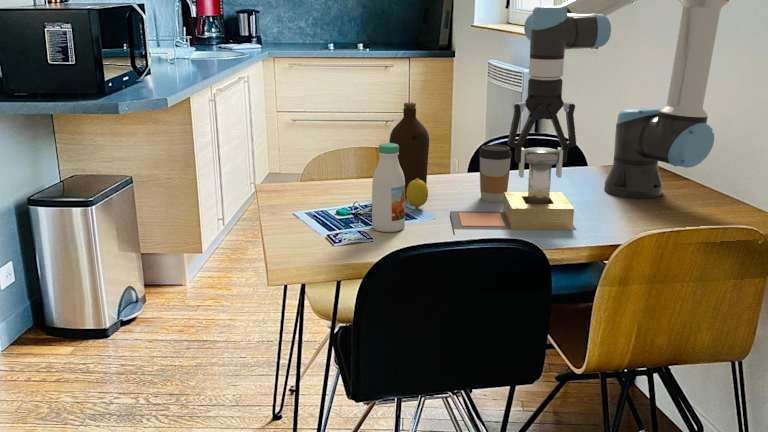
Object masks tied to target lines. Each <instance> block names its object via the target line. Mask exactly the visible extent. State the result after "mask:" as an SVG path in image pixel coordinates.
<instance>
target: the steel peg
mask: <svg viewBox="0 0 768 432" xmlns="http://www.w3.org/2000/svg"><path fill="white" fill-rule="evenodd" d="M524 149H525V160H524V164H529V166H528V167H529V168H528V169H529V170H528V185H527V186H528V187H527V192H528V202H527V204H549V197H550V192H551V178H552V166H554V165H556V164H557V163H558V160H559V151H558V150H557V149H556V148H550V147H540V146H539V147H538V146H537V147H528V148H524Z"/></svg>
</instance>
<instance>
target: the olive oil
mask: <svg viewBox="0 0 768 432" xmlns="http://www.w3.org/2000/svg"><path fill="white" fill-rule="evenodd" d="M416 105H417V104H416V102H412V101H411V102H403V109H402V110H403V114H402V115H403V116H402V118H401V120H400V121H399V122H398V123H397V124H396V125H395V126H394V127H393V128H392V130H391V131H390V132H391V133H390V135H389V143H394V144H397V145H398V146H399V152H398V153H399V154H398V161H399V164H400V167H401V169H402V171H403V174H404V178H405V200H407V196H406V191H407V187H408V185H409V183H410V182H411V181H413V180H415V179H416V178H419V180H422V181H423V182H424V183H425V184H426V186H427V187H428V185H427V181H428V179H427V178H428V166H429V165H428V164H429V154H430V153H429V151H430V136H429V135H430V134H429V132H428V130H427V128H426V127H425V126H424V125H423V124H422V122H421V121H420V120H419V119H418V118H417V107H416Z"/></svg>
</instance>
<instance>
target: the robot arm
mask: <svg viewBox="0 0 768 432" xmlns="http://www.w3.org/2000/svg"><path fill="white" fill-rule="evenodd" d="M636 1H638V0H568V1H566V2H564V3H562V4H559V5H539V6H536V7H534V8H533V10H532V13H530V14H529V15H528V16H527V18H526V20H525V22H524V26H523V28H524V30H523V31H524V35H525V37H526V38H527V40H528V41H529V43H530V44H529V45H530V46H529V63H528V64H529V66H528V76H530V77H529V79H528V82H527V97H526V99H525V100H524V101H523V102H516V101H515V102H513V104H512V109H513V116H512V121H511V125H510V129H509V134H508V139H507V144H508V147H510V148H511V147H512V148H514V150H515V151H514V160H515V163H516V164H518V176H519V178H522V179H523V178H524V175H525V173H524V172H525V162H524V160H525V149H526V148H524V147H523V146H524V145H525V142H526V141H527V138H528V136H529V134H530V132H531V130H532V128H533V126H534V124H535V123H536V121H537V120H543V119H544V120H550V121H551V123H552V126H553V128H554V131H555V135H556V136H557V139H558V141H559V145H560V146H561V147H557V149H556V150H558V151H559V160H558V163H557V164H555V165H556V166H555V176H556V177H557V179H558V178H561V179H562V172H563V164H565V163H567V161H568V150H570V148H572V147H573V148H574V147H576V146H577V139H576V138H577V137H576V128H575V127H576V126H575V119H574V117H575V116H574V113H575V110H576V105H575V104H574V103H573V102H572V101H571V102H564V100H563V99H562V95H563V83H564V82H563V79H562V78H561V77H563V76H564V64H565V62H564V61H565V51H566V50H573V49H574V50H576V49H578V50H579V49H581V50H582V49H591V50H592V49H596V48H601V47H604V46H605V45H606V44H607V43H608V42H609V41H610V38H611V32H612V24H611V21H610V19H609V18H608V17H607V16H609V15H611V14H613V13H615V12H617V11H619V10H620V9H621V10H622V9H623V8H625V7H627V6H629V5H631V4H633V3H635V2H636ZM678 2H679V3H680V4H681V6H682V13H681V18H680V21H679V22H680V24H679V29H678V35H677V41H676V47H675V54H674V58H673V64H672V70H671V78H670V82H669V88H668V89H669V90H668V95H667V101H666V103H665V105H664V106H663V107H642V108H641V107H640V108H639V107H637V108H627V109H623V110H620V111H619V113H618V114H617V119H616V120H617V122H616V124H615V137H614V148H613V149H614V151H613V152H614V153H613V162H612V165H611V167H610V170H609V171H608V174H607V176H606V179H605V181H604V188H603V189H604V192H606V193H608V194H610V195H613V196H618V197H621V198H628V199H630V198H631V199H653V198H658V197H660V196H661V195H662V193H663V192H662V191H663V184H662V183H663V182H662V179H661V174H660V170H659V162H662V163H665V164H667V165H668V164H669V165H670V166H673V167H680V168H687V169H688V168H689V169H691V168H694V167H696V166H698V165H700V164H702V162H703V161H704V160H706V159H707V158H708V156H709V155H710V152H711V151H712V150H713V148H714V147H713V146H714V143H715V133H714V132H713V128H712V127H711V126H710V124H707V121H708V117H709V114H708V113H707V112H706V110H705V109H704V103H705V97H706V92H707V86H708V81H709V76H710V69H711V64H712V59H713V53H714V47H715V42H716V36H717V32H718V27H719V21H720V13H721V9H722V8H723V7H725V6H726V5H727V4H728V3H729V2H730V0H678ZM525 108H527V111H528V112H529V115H528V116H527V119H526V121H525V123H524V125H523V127H522V130H521V132H520V133H519V136H518V138H517V134H518V128H519V125H520V120H521V116H522V114H521V113H523V112H524V109H525ZM562 108H563V111H564V112H565V119H566V127H567V128H566V129H567V137H568V141H567V139H566V136H565V134H564V131H563V129H562V126H561V123H560V120H559V117H558V113H559V111H560V110H561V109H562ZM516 139H517V140H516Z"/></svg>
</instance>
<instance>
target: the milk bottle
mask: <svg viewBox="0 0 768 432" xmlns="http://www.w3.org/2000/svg"><path fill="white" fill-rule="evenodd" d="M398 152H399V146H398V145H397V144H394V143H390V142H387V143H386V142H385V143H381V144H378V155H379V160H378V163H377V166H376V168H375V170H374V172H373V176H372V181H371V183H372V184H371V185H372V186H371V188H372V189H371V197H372V198H371V223H372V224H371V225H372V228H373V229H374V230H375V231H377V232H383V233H395V232H399V231H403V229H405V226H406V225H405V224H406V199H405V178H404V174H403V171H402V169H401V167H400V164H399V161H398V154H399V153H398Z"/></svg>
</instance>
